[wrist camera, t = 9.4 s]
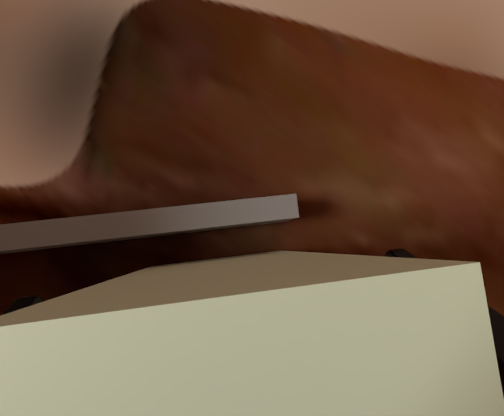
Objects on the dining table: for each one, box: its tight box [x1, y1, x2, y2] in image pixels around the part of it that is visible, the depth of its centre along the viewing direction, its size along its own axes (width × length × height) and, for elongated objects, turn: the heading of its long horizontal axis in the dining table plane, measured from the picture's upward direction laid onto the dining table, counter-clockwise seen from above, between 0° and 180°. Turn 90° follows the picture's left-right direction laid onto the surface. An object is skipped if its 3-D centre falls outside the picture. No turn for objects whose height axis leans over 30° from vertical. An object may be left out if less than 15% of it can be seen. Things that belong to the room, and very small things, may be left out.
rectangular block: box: [0, 250, 504, 416], centre depth 10 cm, size 2×6×13 cm, turn 97°
